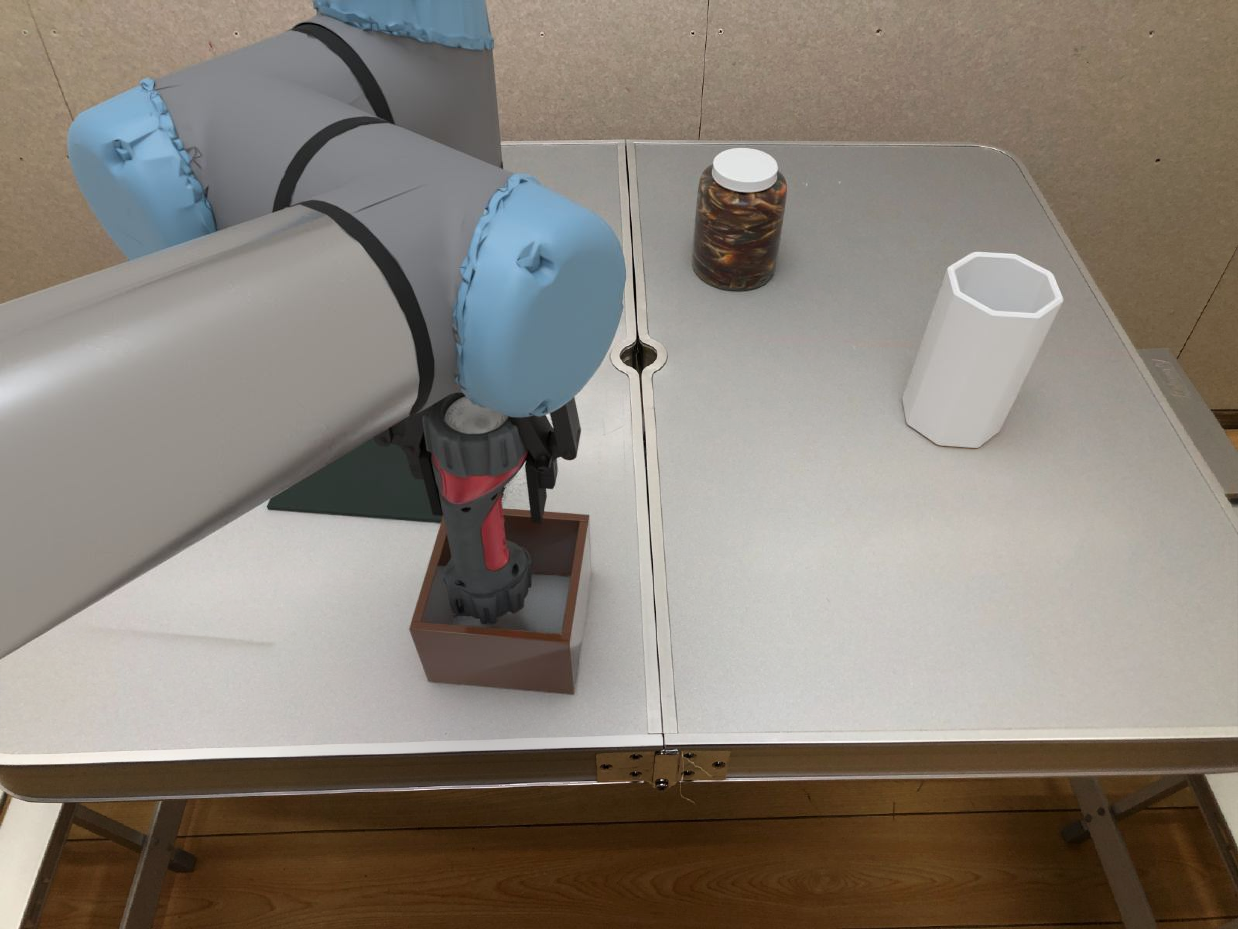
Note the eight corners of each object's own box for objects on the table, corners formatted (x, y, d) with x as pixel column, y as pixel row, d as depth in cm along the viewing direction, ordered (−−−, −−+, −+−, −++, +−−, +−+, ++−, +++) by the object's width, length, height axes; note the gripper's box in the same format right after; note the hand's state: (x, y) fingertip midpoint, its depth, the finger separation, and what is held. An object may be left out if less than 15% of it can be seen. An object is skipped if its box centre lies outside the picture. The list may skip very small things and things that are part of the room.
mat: (267, 509, 87) (266, 506, 87) (378, 280, 114) (377, 277, 113) (494, 527, 86) (494, 524, 85) (553, 290, 112) (552, 287, 112)
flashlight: (563, 572, 75) (548, 382, 58) (524, 643, 70) (496, 458, 53) (486, 546, 77) (450, 354, 60) (443, 613, 72) (391, 425, 55)
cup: (914, 370, 101) (961, 238, 88) (1009, 401, 98) (1073, 268, 84) (888, 429, 95) (934, 295, 81) (988, 463, 91) (1054, 331, 77)
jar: (793, 264, 116) (811, 163, 105) (740, 302, 110) (754, 199, 99) (726, 231, 121) (737, 132, 110) (673, 266, 116) (679, 164, 104)
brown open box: (427, 682, 74) (408, 629, 67) (460, 560, 83) (446, 503, 76) (574, 695, 73) (569, 643, 67) (592, 571, 82) (589, 514, 75)
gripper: (625, 224, 50) (622, 479, 67) (299, 205, 51) (378, 460, 68) (613, 301, 45) (613, 555, 62) (251, 278, 46) (350, 534, 63)
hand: (490, 505), depth 65 cm, fingers closed on flashlight, 7 cm apart
